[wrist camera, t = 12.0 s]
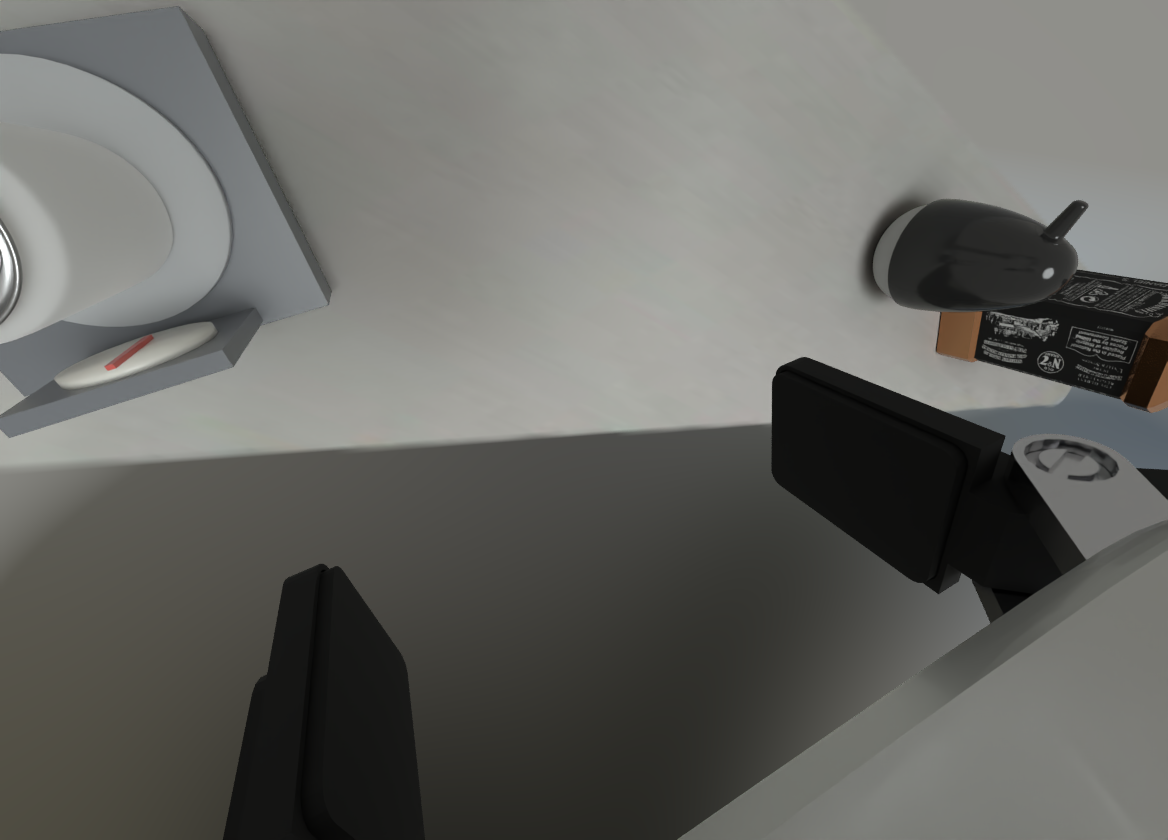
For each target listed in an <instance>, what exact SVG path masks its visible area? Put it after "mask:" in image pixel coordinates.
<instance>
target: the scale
mask: <svg viewBox="0 0 1168 840" xmlns="http://www.w3.org/2000/svg"><path fill="white" fill-rule="evenodd" d="M0 122H5V123H11V124H17V125H22V126H28V127H34V128H40V129H45V130H50V131H56V132H61V133H65V134H69V135H73V136H77V137H80V138H83V139H86V140H88V141H91V142H93V143H96V144H98V145H100V146H102V147H104V148H106V149H108V150H110V151H112V152H113V153H115V154H117V155H118V156H120V157H121V158H123V159H124V160H126V161H127V162H128V163H130V164H131V165H132V166H133V167H134V168H136V169H137V170H138V171H139V172H140V173H141V174H142V175H143V176H144V177H145V178H146V179H147V180H148V181H149V182H150V184H151V185H152V186H153V187H154V189H155V190H156V191H157V193H158V195H159V196H160V198H161V200H162V202H163V204H164V206H165V208H166V210H167V213H168V215H169V218H170V222H171V226H172V232H173V242H172V247H171V250H170V253H169V255H168V257H167V259H166V261H165V262H164V264H163V265H162V266H161V267H160V269H159V270H158V271H156V272H155V273H154V274H153V275H152V276H150V277H149V278H147V279H145V280H144V281H142V282H140V283H138V284H136V285H134V286H132V287H130V288H128V289H126V290H124V291H122V292H120V293H118V294H116V295H114V296H111V297H109V298H107V299H105V300H103V301H101V302H99V303H97V304H95V305H93V306H90V307H88V308H86V309H84V310H82V311H80V312H78V313H76V314H73V315H71V316H69V317H67V318H65V319H63V320H60V321H58V322H56V323H54V324H52V325H50V326H47V327H45V328H43V329H41V330H39V331H36V332H34V333H32V334H29V335H27V336H24V337H22V338H19V339H16V340H13V341H10V342H6V343H2V344H0V371H1V372H2V373H3V374H4V375H5V377H6V378H7V379H8V380H9V381H10V382H11V383H12V384H13V385H14V386H15V387H16V388H17V389H18V390H19V391H20V392H21V393H22V394H23V395H24V396H28V395H30V396H28V397H27V398H25V399H24V400H22V401H21V402H19V403H18V404H16V405H15V406H13V407H12V408H10V409H9V410H7V411H6V412H4V413H3V414H1V415H0V429H1V430H2V431H3V432H4V433H5V434H6V435H7V436H8V437H9V438H11V437H14V436H18V435H21V434H24V433H27V432H30V431H33V430H36V429H40V428H43V427H46V426H49V425H52V424H55V423H59V422H62V421H65V420H68V419H71V418H74V417H77V416H81V415H84V414H87V413H90V412H93V411H96V410H99V409H103V408H106V407H109V406H112V405H115V404H118V403H122V402H125V401H128V400H131V399H134V398H137V397H140V396H144V395H147V394H150V393H153V392H156V391H159V390H163V389H166V388H169V387H172V386H175V385H178V384H181V383H185V382H188V381H191V380H194V379H197V378H200V377H204V376H207V375H210V374H213V373H216V372H219V371H222V370H226V369H229V368H232V367H234V365H235V364H236V362H237V361H238V359H239V357H240V356H241V354H242V353H243V351H244V350H245V348H246V347H247V345H248V344H249V342H250V340H251V339H252V337H253V336H254V334H255V333H256V331H257V330H258V328H259V327H260V326H261V325H264V324H267V323H271V322H274V321H277V320H281V319H284V318H287V317H291V316H294V315H297V314H300V313H304V312H307V311H310V310H314V309H317V308H320V307H324V306H327V305H329V301H330V296H331V290H330V288H329V285H328V283H327V281H326V279H325V277H324V275H323V273H322V271H321V269H320V267H319V265H318V263H317V261H316V259H315V257H314V255H313V253H312V251H311V249H310V247H309V245H308V243H307V241H306V239H305V237H304V235H303V233H302V231H301V228H300V226H299V224H298V222H297V220H296V218H295V216H294V214H293V212H292V210H291V208H290V206H289V204H288V202H287V200H286V198H285V196H284V194H283V192H282V190H281V188H280V186H279V184H278V182H277V180H276V178H275V176H274V174H273V172H272V169H271V167H270V165H269V163H268V161H267V159H266V157H265V155H264V153H263V151H262V149H261V147H260V145H259V143H258V141H257V139H256V137H255V135H254V133H253V131H252V129H251V127H250V125H249V123H248V121H247V119H246V117H245V115H244V113H243V110H242V108H241V106H240V104H239V102H238V100H237V98H236V96H235V94H234V92H233V90H232V88H231V86H230V84H229V82H228V80H227V78H226V76H225V74H224V72H223V70H222V68H221V66H220V64H219V62H218V60H217V58H216V56H215V53H214V51H213V49H212V47H211V45H210V43H209V41H208V39H207V37H206V35H205V33H204V31H203V29H202V28H201V27H200V26H198V25H197V24H196V23H195V22H194V21H193V20H192V19H191V18H190V17H189V16H188V15H187V14H186V13H185V12H184V11H183V10H182V9H181V8H180V7H179V6H176V7H169V8H162V9H155V10H148V11H141V12H134V13H126V14H119V15H112V16H105V17H98V18H91V19H84V20H77V21H70V22H63V23H55V24H48V25H41V26H34V27H27V28H20V29H13V30H6V31H0Z"/></svg>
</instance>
